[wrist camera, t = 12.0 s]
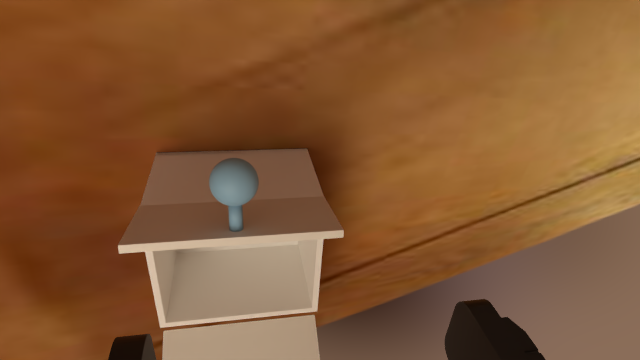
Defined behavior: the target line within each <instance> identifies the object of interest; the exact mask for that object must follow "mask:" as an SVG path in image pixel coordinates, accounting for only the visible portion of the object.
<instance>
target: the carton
mask: <svg viewBox="0 0 640 360" xmlns="http://www.w3.org/2000/svg"><path fill="white" fill-rule="evenodd" d="M228 158H240V159H243V160H245V161H247V162H249V163H250V164H251V165H252V166H253V167H254V168H255V170H256V172H257V175H258V179H259V185H258V189H257V192H256V194H255V196H254V197H253V198H252V199H251V200H261V199H281V198H301V197H320V196H324V195H323V192H322V190H321V187H320V184H319V181H318V178H317V175H316V173H315V170H314V167H313V164H312V161H311V158H310V155H309V153H308V150H307V148H305V149H269V150H234V151H199V152H163V153H156V156H155V159H154V163H153V166H152V169H151V172H150V176H149V179H148V182H147V185H146V189H145V192H144V195H143V199H142V202H141V205H140V206H144V205H164V204H183V203H203V202H219V201H218V200H217V199H216V198H215V197H214V196H213V194H212V192H211V190H210V186H209V178H210V174H211V172H212V170H213V168H214V167H215V166H216V165H217V164H218V163H219V162H221V161H222V160H225V159H228ZM322 250H323V239H316V240H302V241H288V242H274V243H260V244H246V245H232V246H218V247H204V248H190V249H176V250H162V251H148V252H145V253H146V258H147V263H148V268H149V273H150V278H151V283H152V288H153V293H154V299H155V304H156V309H157V314H158V319H159V324H160V328H162V327H172V326H181V325H191V324H200V323H210V322H219V321H229V320H238V319H248V318H257V317H267V316H276V315H286V314H295V313H305V312H314V311H317V307H318V296H319V284H320V273H321V262H322Z"/></svg>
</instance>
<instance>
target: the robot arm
mask: <svg viewBox="0 0 640 360" xmlns="http://www.w3.org/2000/svg"><path fill="white" fill-rule="evenodd" d="M445 350H446V354H447V357H448V360H545V358H544V357H543V355H542V354H541V353H539V352H538V349H537V347H536V346H535V344H534V343H533V342H532V340H531V339H530V338H529V336H528V335H527V333H526V332H525V331H524V330H523V329H521V328H520V327H519V326H518V325H516V324H515V323H514V322H513V321H511V320H510V319H509V318H508V317H504V318H501V317H500V316H499V314H498V313H497V311H496V310H495V308H494V307H493V306H492V304H491V303H490V302H489V301H488V300H485V299H481V300H471V301H462V302H458V303H457V304H456V306H455V309H454V312H453V315H452V318H451V321H450V324H449V327H448V330H447V333H446V336H445ZM108 360H156V357H155V352H154V348H153V343H152V339H151V336H150V334H143V335H134V336H124V337H117V338H115V340H114V342H113V344H112V348H111V351H110V355H109V359H108Z"/></svg>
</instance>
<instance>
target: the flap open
mask: <svg viewBox="0 0 640 360" xmlns="http://www.w3.org/2000/svg"><path fill="white" fill-rule="evenodd" d="M162 360H320V356H319V348H318V340H317V331H316V323H315V315H309V316H300V317H290V318H281V319H271V320H262V321H253V322H243V323H234V324H225V325H215V326H206V327H196V328H187V329H178V330H168V331H164V334H163V356H162Z"/></svg>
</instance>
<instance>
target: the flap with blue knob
mask: <svg viewBox="0 0 640 360" xmlns="http://www.w3.org/2000/svg"><path fill="white" fill-rule="evenodd" d="M258 185H259V179H258V175H257V172H256V170H255V168H254V167H253V166H252V165H251V164H250V163H249V162H247V161H245V160H243V159H240V158H228V159H225V160H222V161H221V162H219V163H218V164H217V165H216V166H215V167H214V168H213V170H212V172H211V174H210V178H209V186H210V190H211V192H212V194H213V196H214V197H215V198H216V199H217V200H218V201H219V202H203V203H183V204H164V205H144V206H139V208H138V210H137V212H136V213H135V215H134V217H133V219H132V221H131V222H130V224H129V226H128V228H127V230H126V232H125V233H124V235H123V237H122V239H121V241H120V242H119V244H118V250H119V253H134V252H148V251H162V250H176V249H190V248H204V247H218V246H232V245H246V244H260V243H274V242H288V241H302V240H316V239H330V238H343V235H344V230H343V228H342V226H341V225H340V223H339V221H338V219H337V218H336V216H335V214H334V212H333V211H332V209H331V207H330V206H329V204H328V202H327V200H326V199H325V197H324V196H320V197H301V198H281V199H261V200H251V199H252V198H253V197H254V196H255V194H256V192H257V189H258Z"/></svg>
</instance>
